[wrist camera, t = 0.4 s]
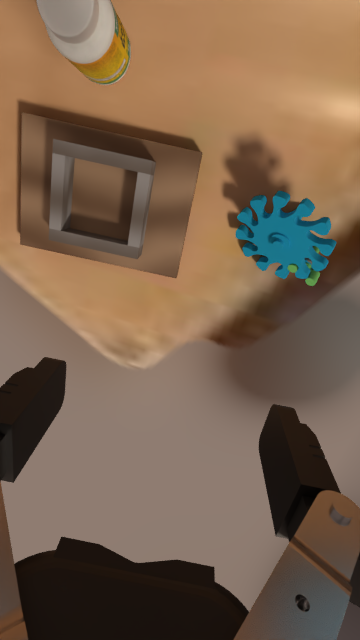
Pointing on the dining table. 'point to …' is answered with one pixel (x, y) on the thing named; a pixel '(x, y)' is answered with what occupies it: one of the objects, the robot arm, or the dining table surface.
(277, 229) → the gear
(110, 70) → the supplement bottle
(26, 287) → the dining table surface
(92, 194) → the socket stand
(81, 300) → the dining table surface
